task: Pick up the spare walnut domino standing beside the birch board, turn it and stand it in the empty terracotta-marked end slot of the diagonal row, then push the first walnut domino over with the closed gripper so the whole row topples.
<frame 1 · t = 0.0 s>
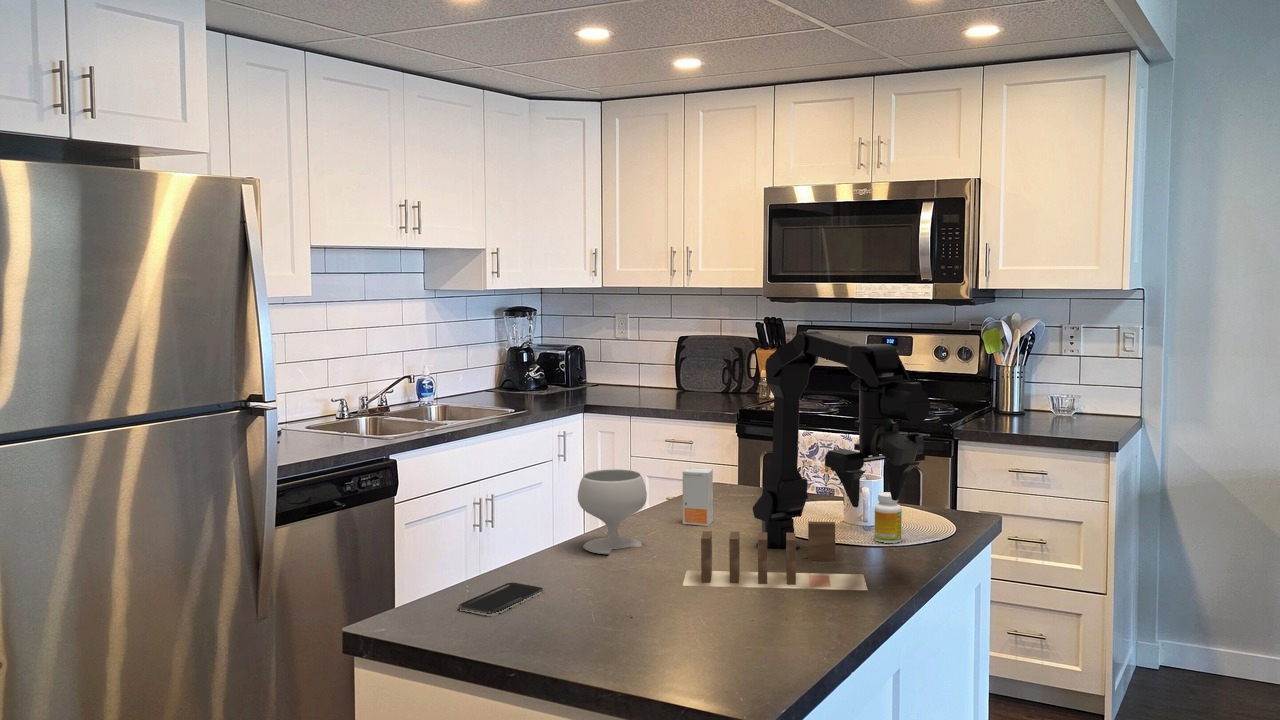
hand: (875, 503, 186), 15 cm above the counter, tool pointing down, fingers open, 9 cm apart
chalice: (613, 548, 214), on the counter
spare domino: (821, 563, 201), on the counter
skincare box: (697, 524, 232), on the counter
supplement bottle: (887, 541, 216), on the counter
domino 4: (791, 580, 187), point 1 cm above the counter, touching domino board
domino 1: (706, 578, 189), point 1 cm above the counter, touching domino board
domino 3: (762, 579, 188), point 1 cm above the counter, touching domino board
domino board: (774, 585, 188), on the counter
phone: (502, 604, 182), on the counter
domino 2: (734, 579, 189), point 1 cm above the counter, touching domino board
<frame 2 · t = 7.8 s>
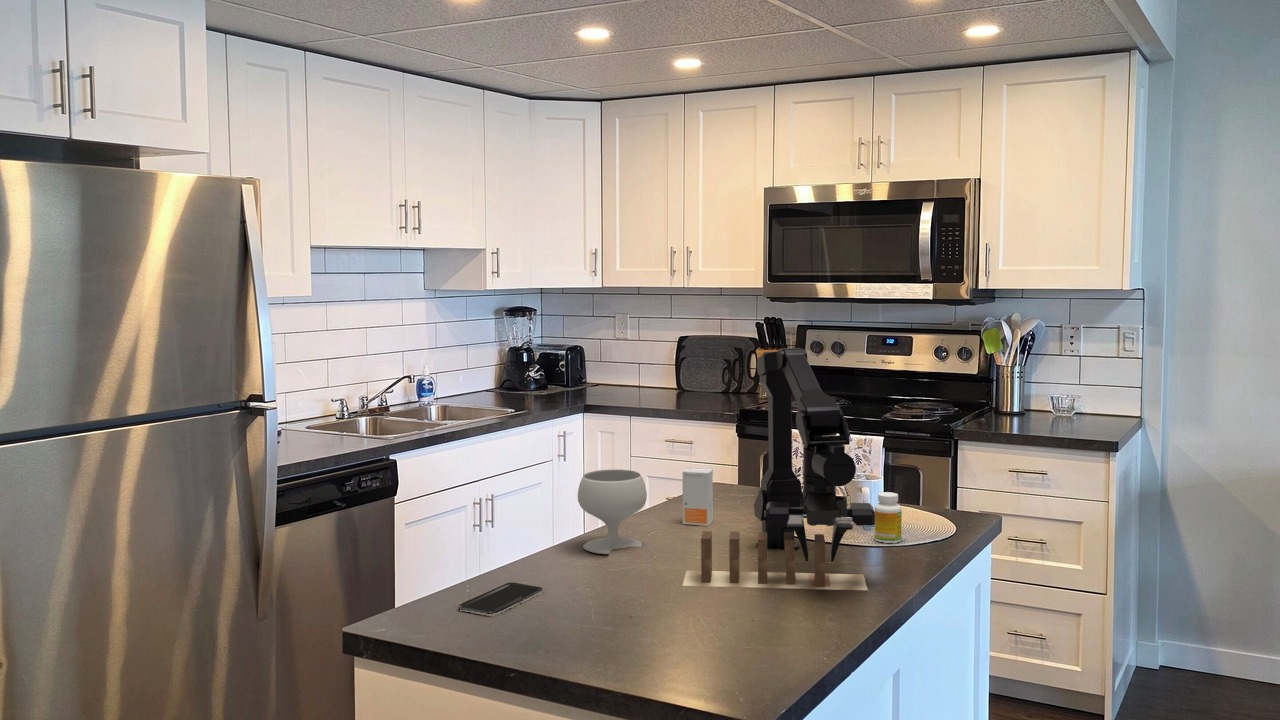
hand: (819, 561, 186), 5 cm above the counter, tool pointing down, fingers open, 4 cm apart
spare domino: (819, 582, 186), point 1 cm above the counter, touching domino board
domino 4: (791, 580, 187), point 1 cm above the counter, touching domino board, gripper
everything else where it was.
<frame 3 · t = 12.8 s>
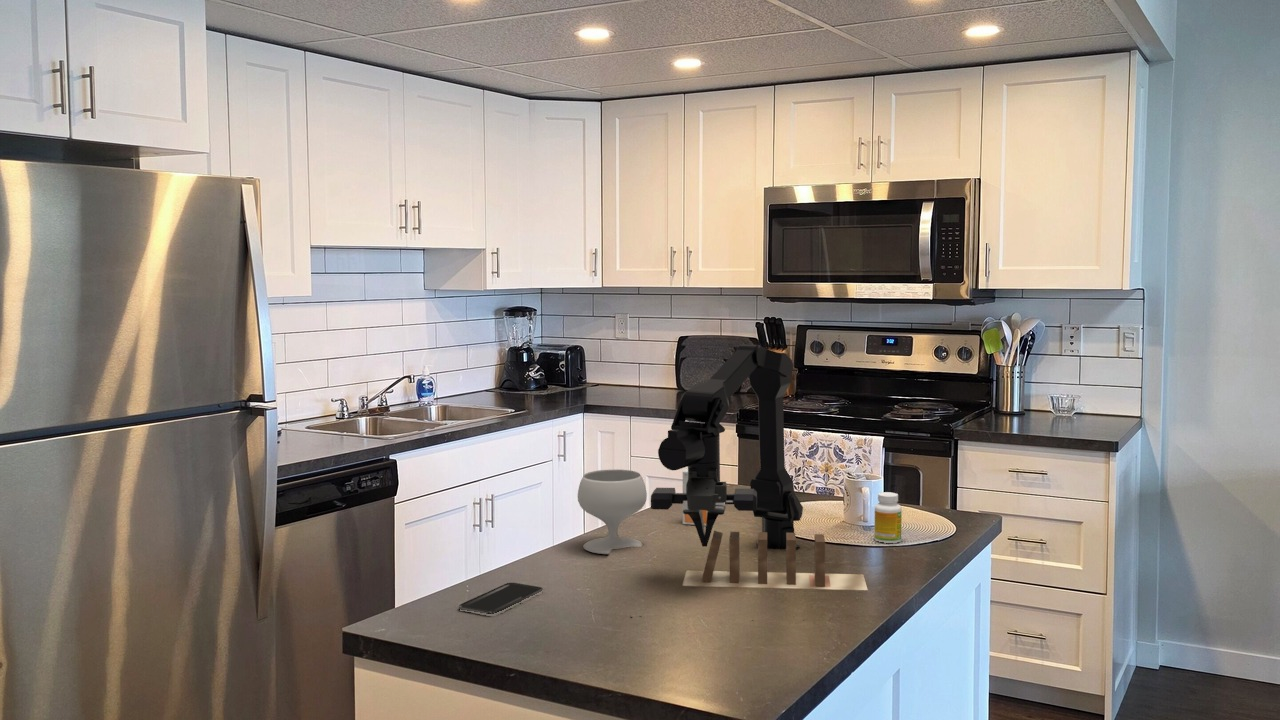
hand: (704, 546, 189), 7 cm above the counter, tool pointing down, fingers closed
domino 4: (791, 580, 187), point 1 cm above the counter, touching domino board
domino 1: (706, 577, 189), point 1 cm above the counter, tilted 14°, touching domino board
everything else where it was.
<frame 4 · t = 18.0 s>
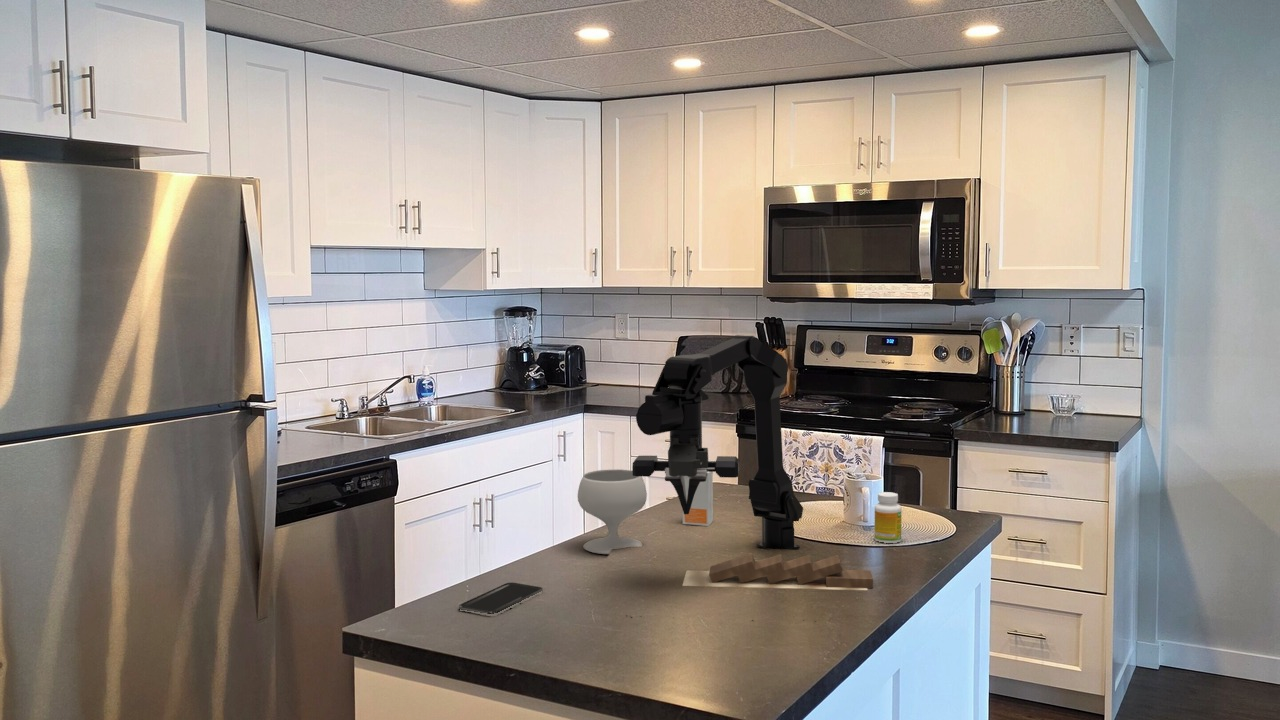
hand: (686, 513, 189), 13 cm above the counter, tool pointing down, fingers closed
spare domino: (825, 578, 186), point 2 cm above the counter, tilted 90°, touching domino 4, domino board
domino 4: (797, 576, 187), point 2 cm above the counter, tilted 71°, touching domino 3, domino board, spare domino
domino 1: (711, 574, 189), point 2 cm above the counter, tilted 72°, touching domino 2, domino board
domino 3: (768, 575, 188), point 2 cm above the counter, tilted 71°, touching domino 2, domino 4, domino board
domino 2: (739, 574, 189), point 2 cm above the counter, tilted 72°, touching domino 1, domino 3, domino board
everything else where it was.
at the end: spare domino tilted 90°; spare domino inside the target area (0.7 cm from its centre), point 1.8 cm above the counter; domino 3 tilted 71° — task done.
